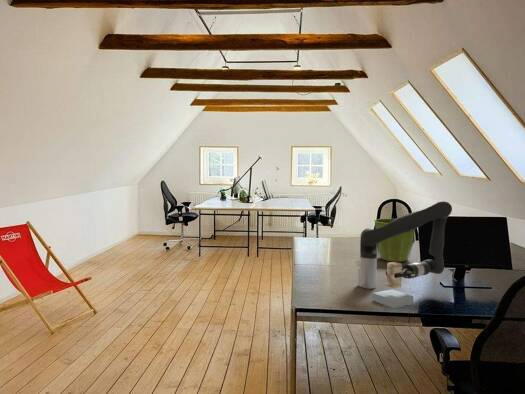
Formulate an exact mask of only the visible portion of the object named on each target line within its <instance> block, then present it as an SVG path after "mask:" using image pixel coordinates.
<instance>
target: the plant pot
mask: <svg viewBox="0 0 525 394" xmlns="http://www.w3.org/2000/svg"><path fill="white" fill-rule="evenodd" d="M395 219H396V218H378V219H374V227H375V228H374V229H377V228H380V227H383V226H385V225H386V224H388V223H390V222H391V221H393V220H395ZM415 231H416V229H414V230H411V231H409V232H406V233H403V234H400V235H397V236H394V237H391V238H388V239H385V240H383V241H381V242H379V243H377V246H378V249H379V252H380V259H381V260H384V261H386V262H397V263H400V262H401V263H402V262H406V261H408V260H409V254H410V251H411V248H412V244H413V241H414V236H415Z"/></svg>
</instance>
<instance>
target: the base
mask: <svg viewBox="0 0 525 394" xmlns="http://www.w3.org/2000/svg"><path fill="white" fill-rule="evenodd" d="M372 301H373V302H376V303H379V304H381V305H383V306H386V307H389V308H391V309H398V308H401V307H405V306H406V305H407V306H410V305H413V304H414V296H413V295H411V294H408V293H405V292H402V291H399V290H397V289H394V288H391V289H387V290H386V289H385V290H381V291H377V292H372Z"/></svg>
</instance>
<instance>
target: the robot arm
mask: <svg viewBox="0 0 525 394" xmlns="http://www.w3.org/2000/svg"><path fill="white" fill-rule="evenodd" d="M452 212H453V207H452V204H451V203H449V202H448V201H445V200H441V201H437V202H436V203H434V204H432V205H431V206H428V207H426V208H424V209H421V210H416V211H413V212H410V213H407V214H405V215H404V214H403V215H402V216H398V217H397V218H394V219H395V220H393V221H391V222H390V223H388V224H386V225H385V226H383V227H380V228H377V229H376V228H365V229H363V230H362V231H361V233H360V243H359V244H360V245H359V248H360V249H359V252H360V255H359V256H360V257H359V258H360V259H359V269H358V272H357V273H358V277H357V279H358V280H357V283H358V284H357V285H358V286H359V287H360V288H363V289H376V288H377V268H378V267H377V266H378V265H377V264H378V250H377V249H378V248H377V247H378V243H379V242H381V241H383V240H385V239H388V238H391V237H394V236H397V235H400V234H403V233H406V232H409V231H411V230H414V229H415V230H416V229H418V228H420V227H422V226H423V225H426V224H427V223H430V222H431V221H432V232H431V236H430V243H429V249H428V253H429V255H430V256H433V257H434V259H425V260H422V261H420V262H412V263H411V262H410V263H406V264H403V265H402V272H400V273H395V274H394V278H399V277H401V279H403V278H404V279H408V280H409V279H414V278H415V279H416V278H419V277H422V276H427V275H428V274H431V273H432V274H436V275H439V274H441V275H442V273H443V271H444V270H445V266H444V261H445V260H444V248H445V229H446V228H445V227H446V223H447V220H448V217H449V216H450V215H451V214H452ZM385 276H387V270H386V271H385Z"/></svg>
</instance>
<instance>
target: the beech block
mask: <svg viewBox="0 0 525 394" xmlns="http://www.w3.org/2000/svg"><path fill="white" fill-rule="evenodd" d="M386 265H387V266H386V271H387V275H386V287H387V288H388V287H389V288H391V289H397V288H398V289H399V288H401V287H402V278H401V277H399V278H394V274H395V273H400V272H402V267H403V264H402V262H401V263H400V262H393V261H389V262H387V263H386Z"/></svg>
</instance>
